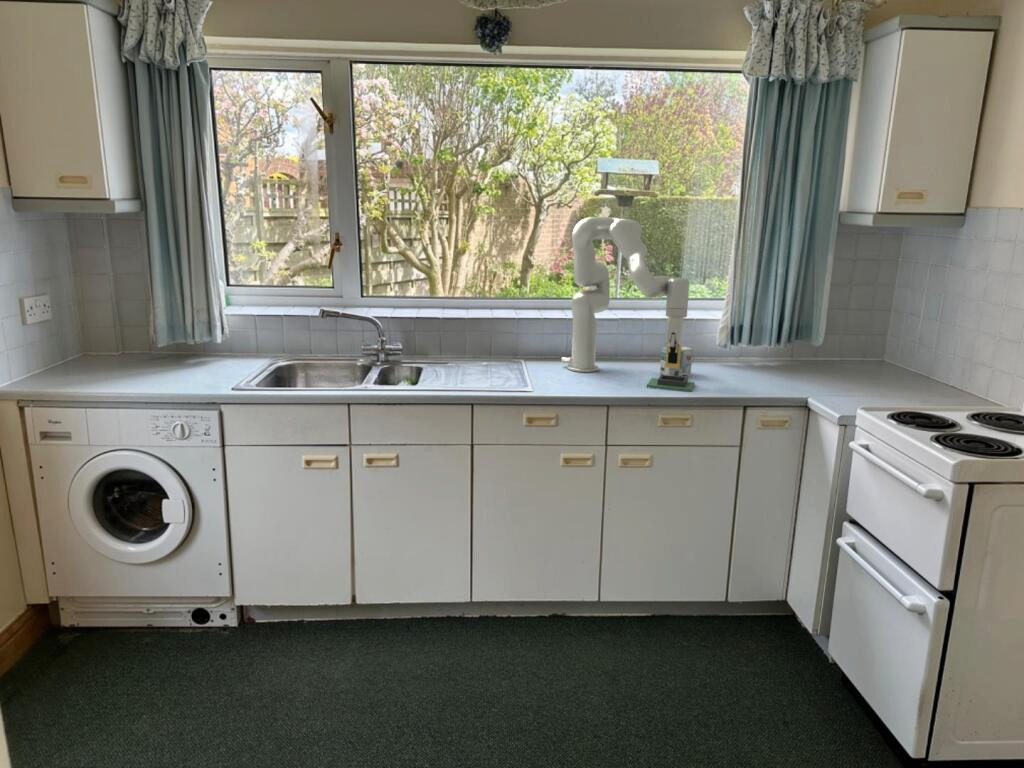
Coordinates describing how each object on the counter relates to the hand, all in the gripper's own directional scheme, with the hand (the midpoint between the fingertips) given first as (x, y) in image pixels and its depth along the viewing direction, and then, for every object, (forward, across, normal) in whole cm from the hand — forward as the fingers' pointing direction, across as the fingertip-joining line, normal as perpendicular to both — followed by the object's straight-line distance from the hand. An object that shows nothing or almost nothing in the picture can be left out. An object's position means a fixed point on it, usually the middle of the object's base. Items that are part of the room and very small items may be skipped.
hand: (673, 361), depth 267 cm
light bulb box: (+9, -20, -1) cm, 22 cm away
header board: (+9, 0, 0) cm, 9 cm away
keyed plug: (+2, 0, 0) cm, 2 cm away
